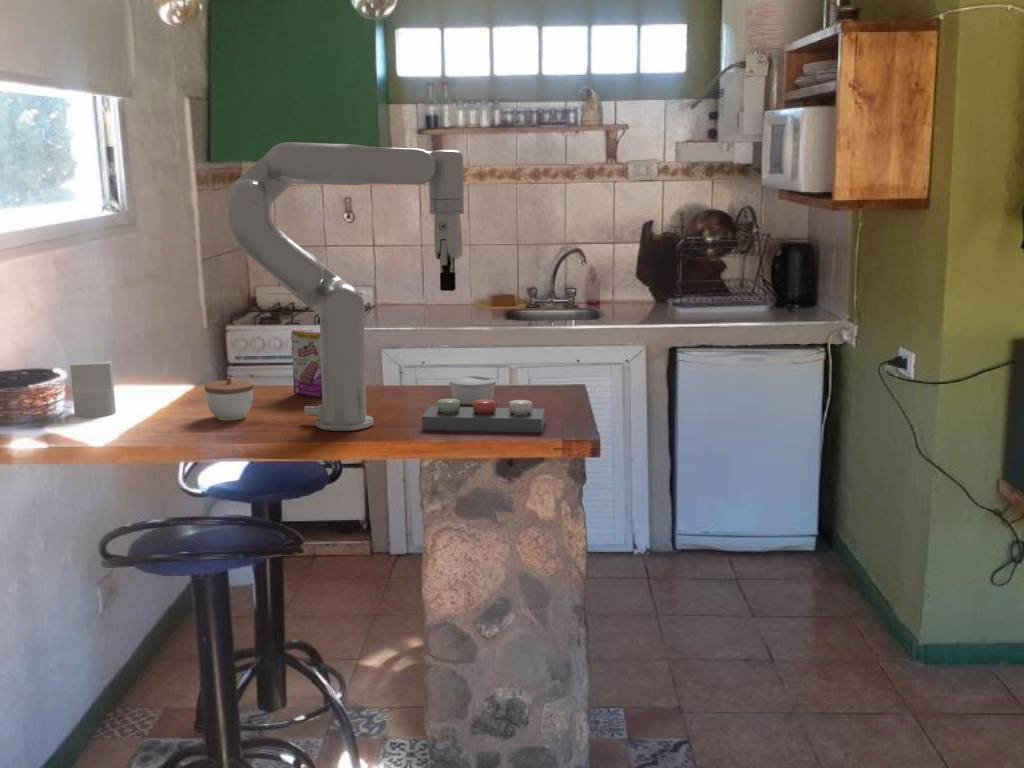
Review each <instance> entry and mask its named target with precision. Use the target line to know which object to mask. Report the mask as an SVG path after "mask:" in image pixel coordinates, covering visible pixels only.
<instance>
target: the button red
mask: <svg viewBox="0 0 1024 768" xmlns="http://www.w3.org/2000/svg"><path fill="white" fill-rule="evenodd" d="M496 404H497V403H496V400H494V399H492V400H489V399H481V400H475V401H473V405H472V407H473V411H474V412H476V413H478V415H491V413H492V412H495V411H496V408H497V405H496Z"/></svg>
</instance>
